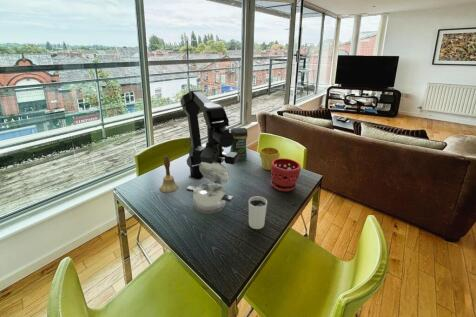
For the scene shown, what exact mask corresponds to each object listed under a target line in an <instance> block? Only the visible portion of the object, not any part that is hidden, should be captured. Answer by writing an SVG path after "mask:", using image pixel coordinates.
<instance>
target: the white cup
mask: <svg viewBox="0 0 476 317" xmlns="http://www.w3.org/2000/svg"><path fill="white" fill-rule="evenodd" d="M267 207H268V200H267V199H266V198H265V197H262V196H257V195H256V196H252V197H250V198H249V199H248V225H249V227H250V228H251V229H255V230H260V229H262V228H264V227H265V220H266V214H267Z"/></svg>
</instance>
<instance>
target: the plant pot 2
mask: <svg viewBox="0 0 476 317" xmlns="http://www.w3.org/2000/svg"><path fill="white" fill-rule="evenodd" d="M275 164H276V165H275ZM284 165H285V166H284ZM289 168H290V169H289ZM301 169H302V165H301V164H300V163H299V162H298V161H297V160H293V159H291V158H281V157H279V159H275V160H273V161H272V165H271V170H270V176H271V180H270V184H271V186H272V188H273V189H275V190H277V191H280V192H290V191H293V190H294V189H295V188H296V187H297V181H298V180H299V177H300V174H301Z"/></svg>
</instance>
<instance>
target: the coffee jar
mask: <svg viewBox="0 0 476 317" xmlns="http://www.w3.org/2000/svg"><path fill="white" fill-rule="evenodd" d="M229 132H230V133H231V134H232V135H233V137H234V142H233V144H232V145H231V146H230V149H229V150H230V151H229V152H235V153H238V154H239V160H238V161H237V162H242V161H243V162H244V161H246V160H247V154H248V153H247V139H248V136H249V135H248V134H249V133H248V129H247V128H246V127H231V129H230V131H229Z"/></svg>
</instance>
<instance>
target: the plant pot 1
mask: <svg viewBox="0 0 476 317" xmlns="http://www.w3.org/2000/svg"><path fill="white" fill-rule="evenodd" d="M280 154H281V151H280V150H279V149H278V148H276V147H270V146H267V147H263V148H260V150H259V157H260V159H261V166H262V169H264V170H266V171H271V165H272V161H273V160H275V159H280ZM275 166H277V164H275Z"/></svg>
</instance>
